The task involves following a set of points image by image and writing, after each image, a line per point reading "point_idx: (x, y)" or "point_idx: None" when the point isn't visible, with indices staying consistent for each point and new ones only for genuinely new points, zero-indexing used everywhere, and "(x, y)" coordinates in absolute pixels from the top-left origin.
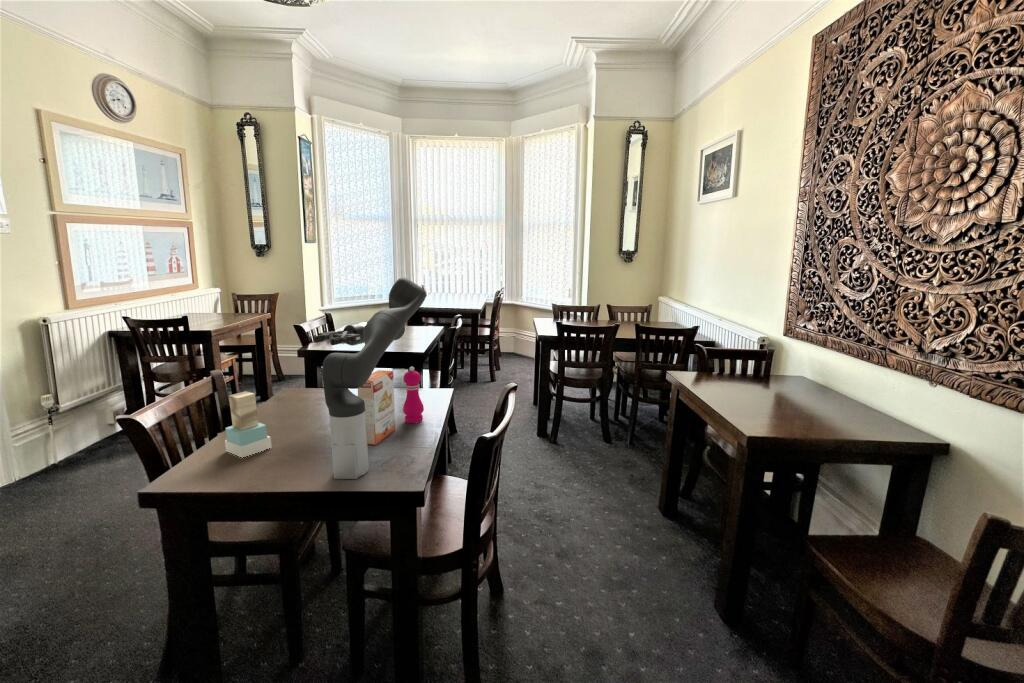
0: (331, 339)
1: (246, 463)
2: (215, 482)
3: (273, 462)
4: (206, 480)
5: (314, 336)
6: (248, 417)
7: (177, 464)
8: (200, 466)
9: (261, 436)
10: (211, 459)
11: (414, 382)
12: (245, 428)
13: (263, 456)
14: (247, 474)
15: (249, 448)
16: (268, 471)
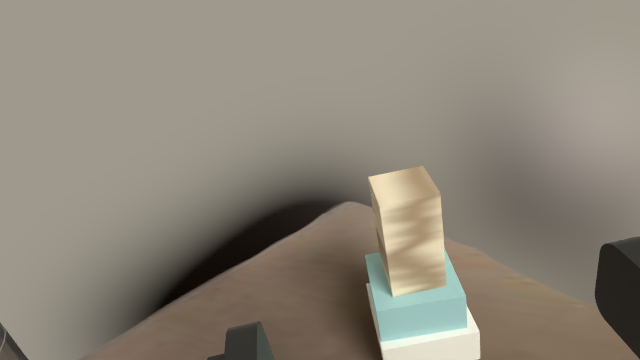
0: (234, 327)
1: (332, 308)
2: (292, 257)
3: (282, 349)
4: (315, 249)
5: (629, 240)
6: (382, 250)
7: None
8: None
9: (377, 321)
10: None
11: None
12: (383, 266)
13: (341, 343)
14: (273, 297)
15: (371, 308)
16: None
